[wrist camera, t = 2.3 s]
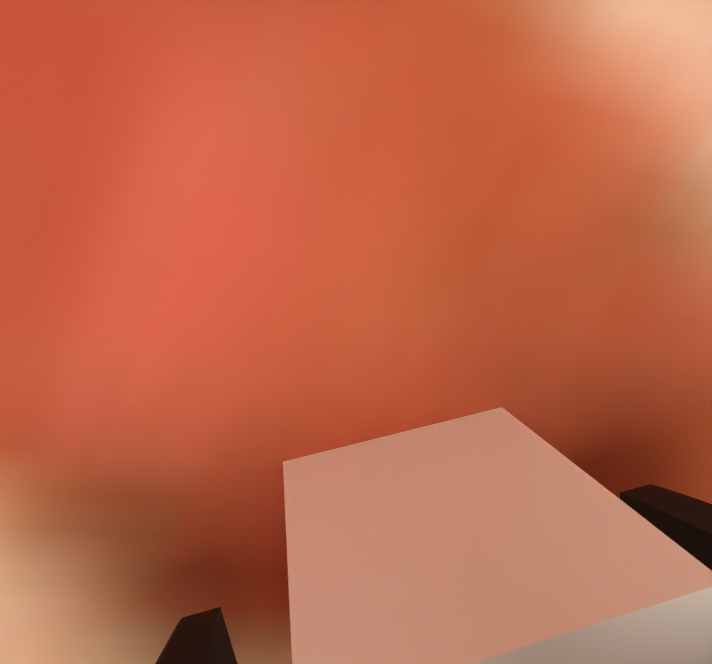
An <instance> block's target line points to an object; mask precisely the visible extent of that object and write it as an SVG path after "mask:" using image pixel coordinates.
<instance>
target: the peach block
mask: <svg viewBox="0 0 712 664" xmlns="http://www.w3.org/2000/svg"><path fill="white" fill-rule="evenodd" d="M283 476H284V498H285V520H286V541H287V563H288V585H289V607H290V628H291V650H292V664H712V571H711V570H710V569H709V568H707V567H706V566H705V565H704V564H702V563H701V562H700V561H698V560H697V559H696V558H695V557H693V556H692V555H691V554H689V553H688V552H687V551H686V550H684V549H683V548H682V547H681V546H679V545H678V544H677V543H675V542H674V541H673V540H672V539H670V538H669V537H668V536H666V535H665V534H664V533H663V532H661V531H660V530H659V529H657V528H656V527H655V526H654V525H652V524H651V523H650V522H649V521H647V520H646V519H645V518H643V517H642V516H641V515H640V514H638V513H637V512H636V511H634V510H633V509H632V508H631V507H629V506H628V505H627V504H625V503H624V502H623V501H622V500H620V499H619V498H618V497H617V496H615V495H614V494H613V493H611V492H610V491H609V490H608V489H606V488H605V487H604V486H602V485H601V484H600V483H599V482H597V481H596V480H595V479H593V478H592V477H591V476H590V475H588V474H587V473H586V472H585V471H583V470H582V469H581V468H579V467H578V466H577V465H576V464H574V463H573V462H572V461H570V460H569V459H568V458H567V457H565V456H564V455H563V454H561V453H560V452H559V451H558V450H556V449H555V448H554V447H553V446H551V445H550V444H549V443H547V442H546V441H545V440H544V439H542V438H541V437H540V436H538V435H537V434H536V433H535V432H533V431H532V430H531V429H530V428H528V427H527V426H526V425H524V424H523V423H522V422H521V421H519V420H518V419H517V418H515V417H514V416H513V415H512V414H510V413H509V412H508V411H506V410H505V409H504V408H503V407H500V408H496V409H492V410H488V411H484V412H480V413H476V414H472V415H468V416H464V417H460V418H456V419H452V420H448V421H444V422H440V423H436V424H432V425H428V426H424V427H420V428H416V429H412V430H408V431H404V432H400V433H396V434H392V435H388V436H384V437H380V438H376V439H372V440H368V441H364V442H360V443H356V444H352V445H348V446H344V447H340V448H336V449H332V450H328V451H324V452H320V453H316V454H312V455H308V456H304V457H300V458H296V459H292V460H288V461H284V462H283Z"/></svg>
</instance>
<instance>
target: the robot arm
mask: <svg viewBox="0 0 712 664" xmlns="http://www.w3.org/2000/svg"><path fill="white" fill-rule="evenodd" d="M620 500H622V501H623V502H624V503H625V504H627V505H628V506H629V507H631V508H632V509H633V510H634V511H636V512H637V513H638V514H640V515H641V516H642V517H643V518H645V519H646V520H647V521H649V522H650V523H651V524H652V525H654V526H655V527H656V528H657V529H659V530H660V531H661V532H663V533H664V534H665V535H666V536H668V537H669V538H670V539H672V540H673V541H674V542H675V543H677V544H678V545H679V546H681V547H682V548H683V549H684V550H686V551H687V552H688V553H689V554H691V555H692V556H693V557H695V558H696V559H697V560H698V561H700V562H701V563H702V564H704V565H705V566H706V567H707V568H709V569H710V570H711V571H712V504H709V503H706V502H703V501H701V500H698V499H695V498H692V497H689V496H686V495H683V494H680V493H677V492H674V491H671V490H668V489H664V488H661V487H658V486H654V485H651V484H649V485H646V486H642V487H639V488H635V489H632V490H628V491H625V492H621V493H620ZM156 664H237V661H236V658H235V655H234V651H233V648H232V645H231V642H230V638H229V635H228V632H227V628H226V625H225V622H224V619H223V615H222V612H221V609H220V607H219V608H215V609H212V610H208V611H205V612H201V613H198V614H194V615H191V616H187V617H184V618H182V619H181V620H180V622H179V623H178V625H177V626H176V628H175V630H174V631H173V633H172V635H171V637H170V638H169V640H168V642H167V644H166V646H165V647H164V649H163V651H162V653H161V655H160V656H159V658H158V660H157V662H156Z"/></svg>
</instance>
